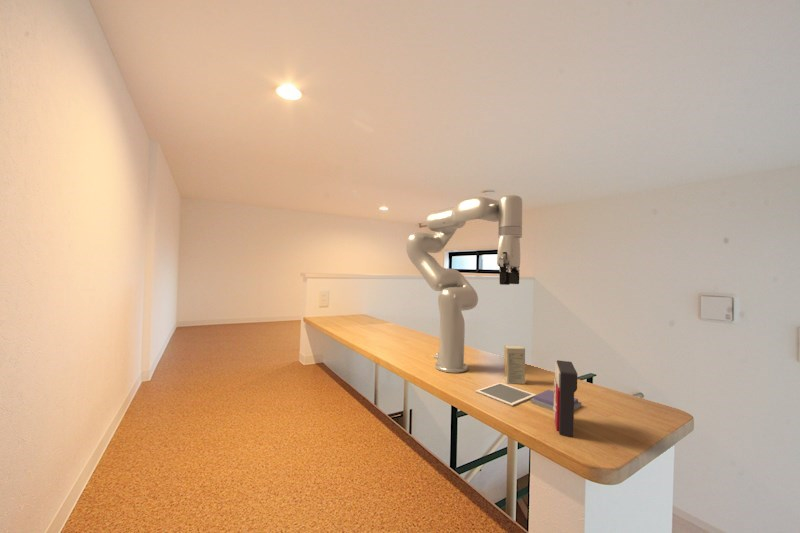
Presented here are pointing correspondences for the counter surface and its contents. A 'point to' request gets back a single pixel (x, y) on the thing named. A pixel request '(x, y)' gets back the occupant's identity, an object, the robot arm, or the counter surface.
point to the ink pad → (549, 400)
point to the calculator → (564, 397)
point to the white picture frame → (506, 394)
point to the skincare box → (514, 364)
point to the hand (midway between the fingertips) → (509, 284)
